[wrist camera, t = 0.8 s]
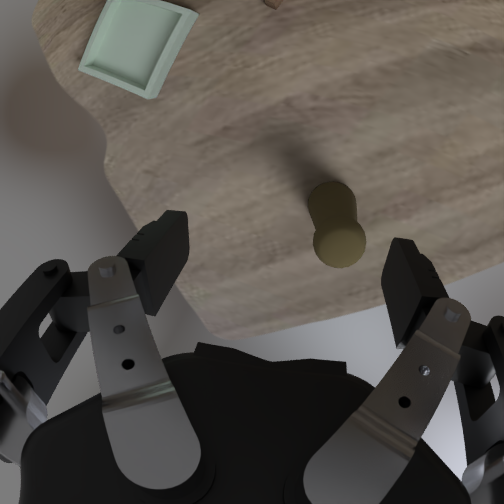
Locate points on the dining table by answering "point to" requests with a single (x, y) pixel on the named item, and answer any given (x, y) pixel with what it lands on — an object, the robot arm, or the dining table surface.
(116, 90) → the dining table surface
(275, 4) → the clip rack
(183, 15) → the tray
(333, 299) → the dining table surface
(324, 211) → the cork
